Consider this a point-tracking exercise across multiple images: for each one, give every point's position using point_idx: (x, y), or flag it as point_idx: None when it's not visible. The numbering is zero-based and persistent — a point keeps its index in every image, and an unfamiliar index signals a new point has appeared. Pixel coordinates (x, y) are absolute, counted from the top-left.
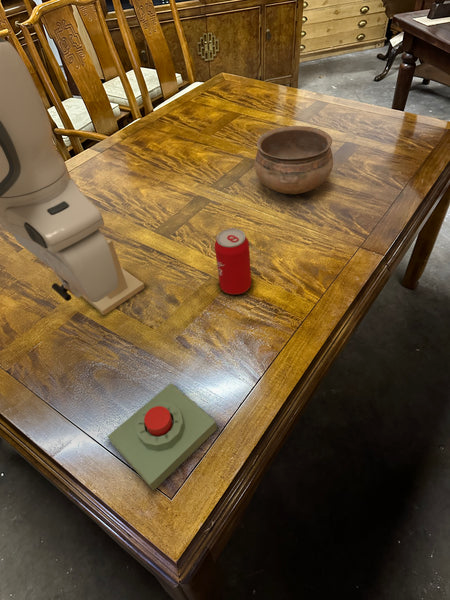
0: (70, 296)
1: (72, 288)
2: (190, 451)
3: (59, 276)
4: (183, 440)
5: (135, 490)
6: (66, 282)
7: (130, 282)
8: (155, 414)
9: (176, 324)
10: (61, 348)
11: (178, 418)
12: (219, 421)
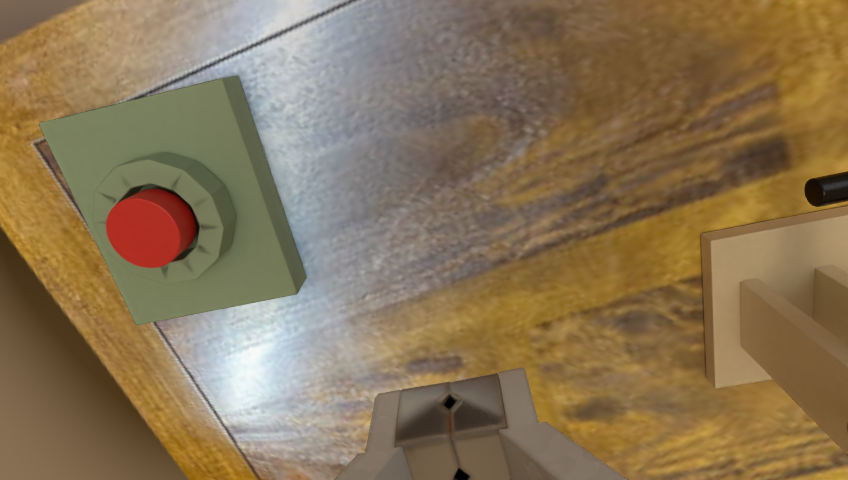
0: (813, 203)
1: (350, 464)
2: None
3: (531, 457)
4: None
5: (85, 78)
6: (470, 444)
7: (755, 361)
8: (153, 235)
9: None
10: (676, 60)
11: (146, 270)
12: (171, 320)
